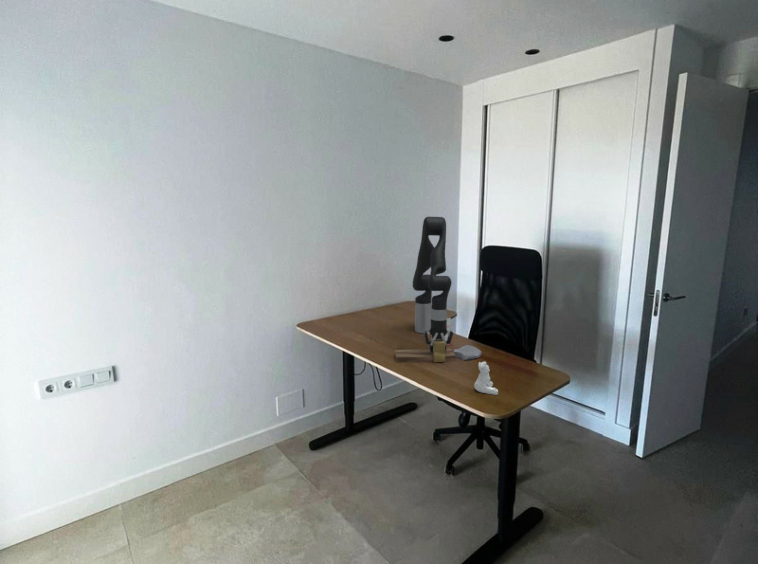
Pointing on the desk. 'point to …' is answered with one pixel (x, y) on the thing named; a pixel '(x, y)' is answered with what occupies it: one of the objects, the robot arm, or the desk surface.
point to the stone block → (467, 352)
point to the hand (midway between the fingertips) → (437, 352)
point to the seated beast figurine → (484, 380)
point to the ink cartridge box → (448, 328)
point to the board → (421, 355)
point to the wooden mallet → (439, 350)
